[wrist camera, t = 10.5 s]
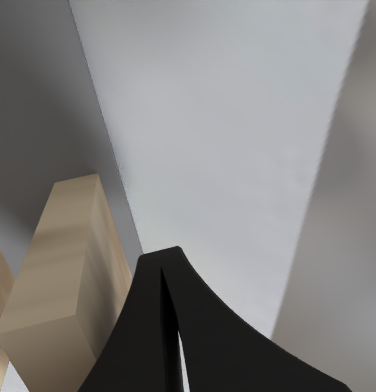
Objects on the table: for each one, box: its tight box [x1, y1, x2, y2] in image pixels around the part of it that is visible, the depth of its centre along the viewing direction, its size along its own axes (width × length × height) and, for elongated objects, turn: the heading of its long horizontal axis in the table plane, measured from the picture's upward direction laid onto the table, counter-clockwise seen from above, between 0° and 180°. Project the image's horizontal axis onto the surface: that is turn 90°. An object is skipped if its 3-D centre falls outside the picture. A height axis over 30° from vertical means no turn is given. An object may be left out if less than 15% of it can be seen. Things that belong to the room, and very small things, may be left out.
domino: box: [0, 173, 132, 392], centre depth 11 cm, size 5×2×7 cm, turn 10°
